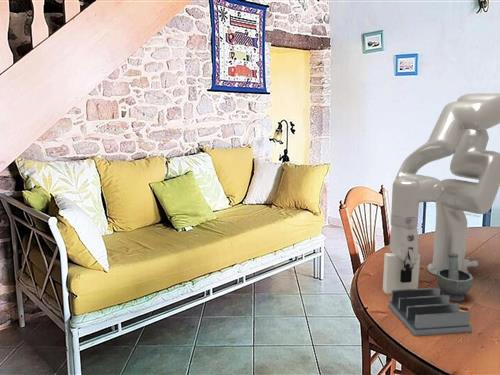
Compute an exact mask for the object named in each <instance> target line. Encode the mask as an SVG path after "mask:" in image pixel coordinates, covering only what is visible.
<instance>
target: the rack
mask: <svg viewBox="0 0 500 375" xmlns="http://www.w3.org/2000/svg"><path fill="white" fill-rule="evenodd" d="M390 295H391V296H390V301H388V307H389V309H391V311H392V312H393V313H394V314H395V316H396V317H397V318H398V319H399V320H400V321H401V322H402V323H403V324H404V326H405V327H406V328H407V329H408V330H409V332H410V333H411V334H412V335H413V336H414V337H419V336H420V335H421V336H433V335H445V334H457V333H460V334H463V333H472V330H473V329H472V328H473V326H472V325H471V324H470V323H471V322H470V320H471V312H470V311H460V303H459V302H450V300H449V298H450V296H449V295H442V294H441V289H440V287H439V286H438V287H425V288H424V287H423V288H418V289H405V290H392V292H391V294H390Z"/></svg>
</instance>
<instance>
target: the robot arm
mask: <svg viewBox="0 0 500 375" xmlns="http://www.w3.org/2000/svg"><path fill="white" fill-rule="evenodd" d="M499 124H500V92H499V93H498V92H496V93H495V92H493V93H487V92H486V93H484V92H483V93H479V92H478V93H467V94H466V93H465V94H463V95H461V96H459V97H458V98H457V100H456V101H451V102H449V103H447V104H446V105H445V106H444V107H443V108H442V111H441V113H440V115H439V117H438V119H437V121H436V123H435V125H434V128H433V130H432V132H431V134H430V135H429V138H428V140H427V141H426V142H425V143H424V144H422V145H420V146H419V147H418V148H417V149H415V150H414V151H413V152H412V153H410V154H409V155H408V156H407V157H406V158H405V159H404V160H403V162H402V164H401V165H400V168H399V169H398V171H397V174H396V176H395V180H393V183H392V189H391V190H392V192H391V213H390V214H391V215H390V226H391V227H390V233H389V234H390V237H389V251H390V253H395V254H396V255H397V257H398V258H399V259H401V261H402V269H401V277H400V282H401V283H406V282H411V279H412V270H413V267H414V266H415V265H416V261H415V260H417V259H418V253H419V233H418V225H419V223H418V222H419V207H420V203H431V202H434V203H435V210H436V211H435V228H434V239H433V240H434V242H433V243H434V244H433V257H432V262H430V263H429V264H427V271H428V272H429V273H430V274H432V275H434V276H436V277H437V271H439V270H441V269H449V256H448V255H449V254H450V253H456V254H458V255H459V257H458V270H462V271H465V272H467V273H469V270H468V268H470V267H473V268H475V267H478V266H479V262H478V260H470V259H468V258H467V259H466V258H465V256H466V255H465V254H466V245H467V234H468V232H467V231H468V219H467V215H466V214H465V212H466V213H472V214H476V215H484V214H487V213H488V212H489V211H490V210H491V208H492V206H493V204H494V203H495V199H496V198H497V194H498V191H499V188H500V152H498V151H494V150H488V149H487V145H488V142H489V138H490V137H489V133H488V131H487V130H488V129H491V128H494V127H496V126H497V125H499ZM450 156H452V157H451V161H450V164H449V170H450V172H451V174H453V176H456V177H459V178H465V179H470V180H478V182H475V181H474V182H473V181H469V180H463V179H456V178H446V179H445V178H444V179H442V180H440V179H438V178H437V177H435V176H434V177H433V176H429V175H428V176H427V175H422V174H417V173H418V172H419V170H421V168H423V167H424V166H426V165H427V164H429V163H433V162H435V161H438V160H441V159H444V158H447V157H450ZM406 257H408V258H409V259H405V258H406ZM407 261H409V263H408V264H406V265H405V262H407Z"/></svg>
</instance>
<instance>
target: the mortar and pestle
mask: <svg viewBox="0 0 500 375" xmlns="http://www.w3.org/2000/svg"><path fill="white" fill-rule="evenodd" d="M448 256H449V269H441V270H439V271H437V276H436V281H437V285H438V287H439V288H440V291H441V295H449V296H450V298H449V301H451V302H452V301H453V302H462V301H464V300H465V294H466V293H468V292H469V291H470V290H471V289H472V286H473V283H474V278H473V276H472V274H471V273H469V272H468V273H467V272H465V271H462V270H458V257H459V255H458V254H456V253H450V254H449V255H448Z"/></svg>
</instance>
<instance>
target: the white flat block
mask: <svg viewBox="0 0 500 375" xmlns="http://www.w3.org/2000/svg"><path fill="white" fill-rule="evenodd" d="M383 257H384V259H383V278H382V291H383V293H384V294H385V295H391V292H392V290H405V289H419V277H420V263H421V254H420V253H419V252H418V259H417V260H415V261H416V265H415V266H414V267H413V270H412V279H411V282H406V283H401V282H400V277H401V269H402V261H401V259H399V258H398V257H397V255H396V254H395V253H391V252H386V253H384V256H383ZM405 259H409V258H408V257H406V258H405ZM408 263H409V261H407V262H405V265H406V264H408Z"/></svg>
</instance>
